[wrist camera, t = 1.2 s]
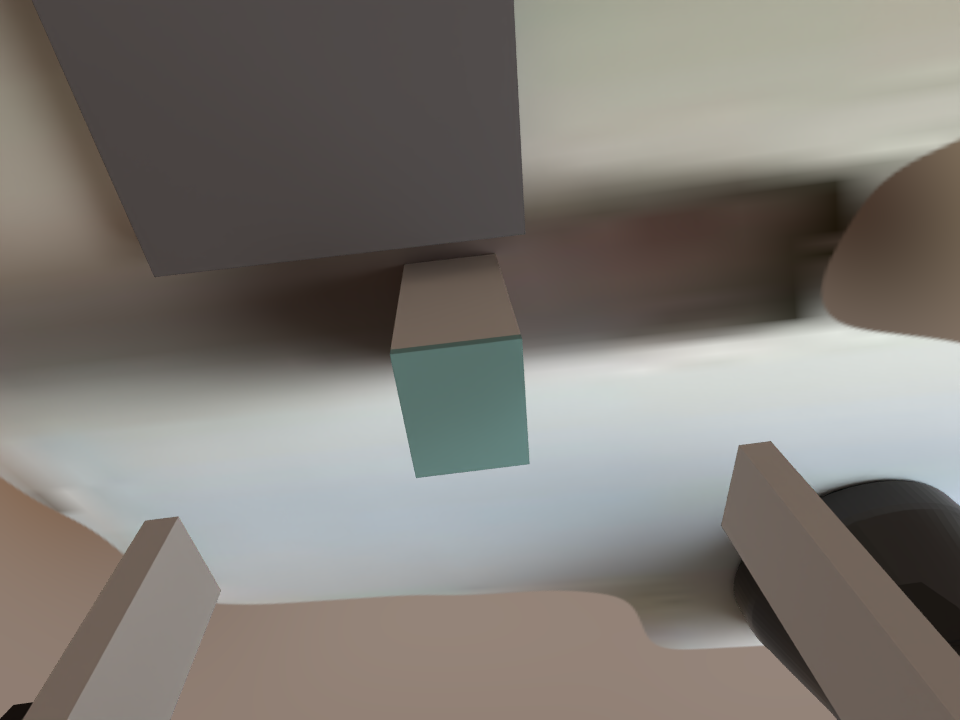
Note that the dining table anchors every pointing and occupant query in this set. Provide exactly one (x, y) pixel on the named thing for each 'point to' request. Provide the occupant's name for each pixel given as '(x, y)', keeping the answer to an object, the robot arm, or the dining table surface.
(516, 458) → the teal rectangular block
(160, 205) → the socket
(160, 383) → the dining table surface
